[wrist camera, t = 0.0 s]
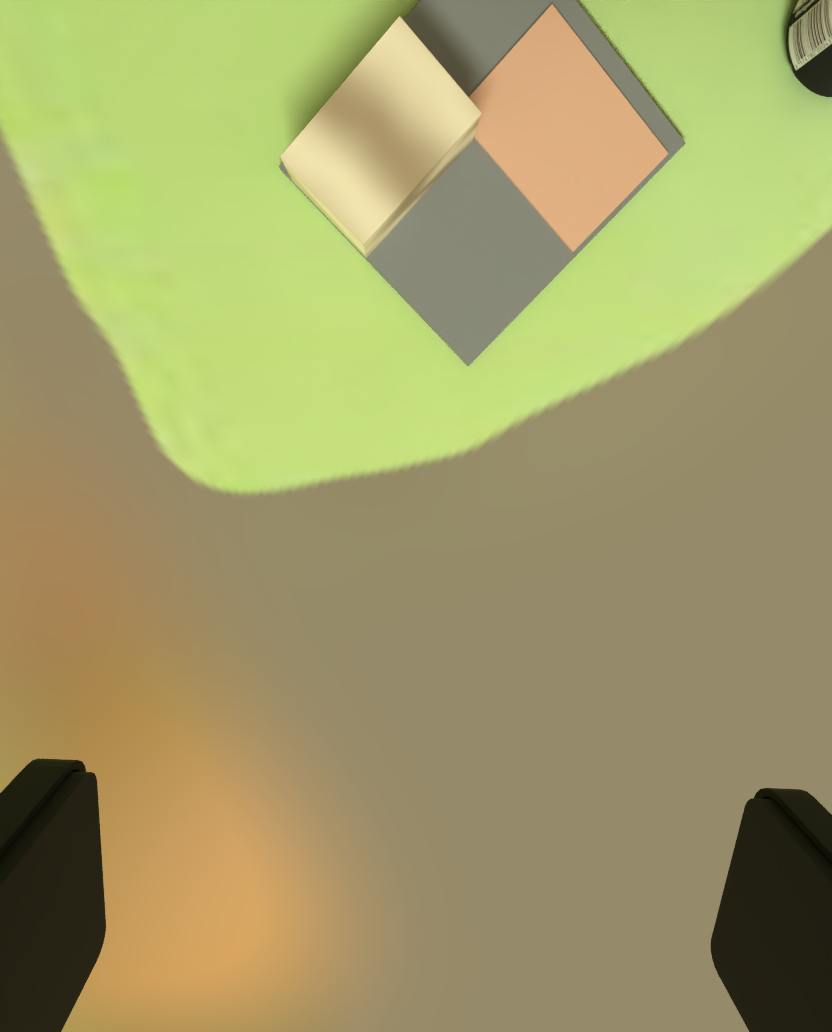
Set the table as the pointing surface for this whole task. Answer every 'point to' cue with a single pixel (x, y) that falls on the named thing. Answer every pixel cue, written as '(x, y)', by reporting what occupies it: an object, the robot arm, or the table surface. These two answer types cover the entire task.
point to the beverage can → (811, 45)
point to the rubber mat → (519, 163)
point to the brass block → (382, 138)
